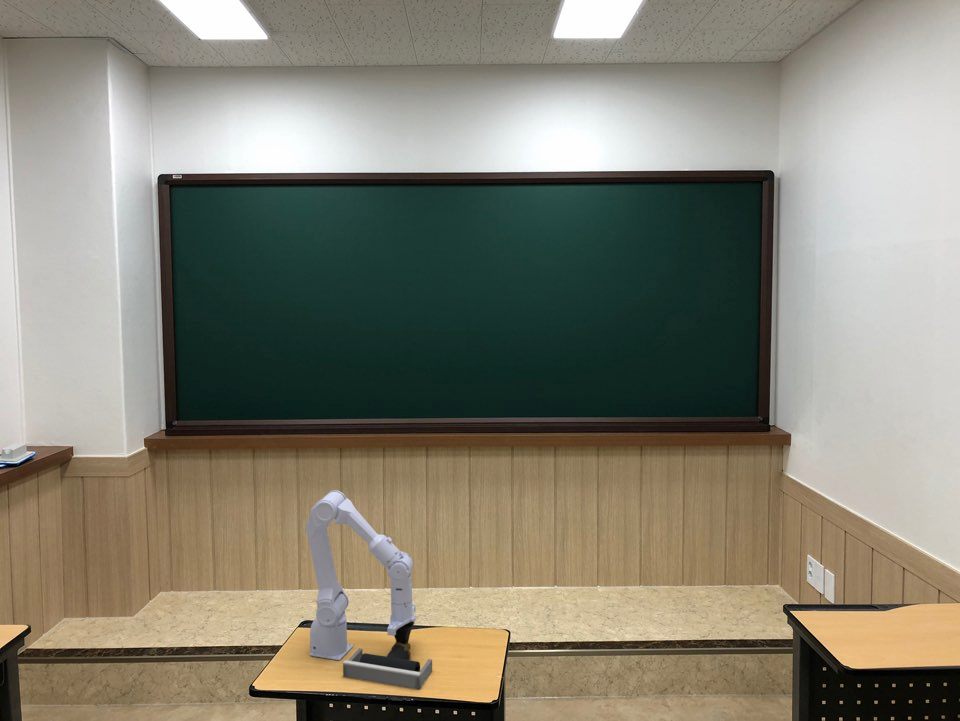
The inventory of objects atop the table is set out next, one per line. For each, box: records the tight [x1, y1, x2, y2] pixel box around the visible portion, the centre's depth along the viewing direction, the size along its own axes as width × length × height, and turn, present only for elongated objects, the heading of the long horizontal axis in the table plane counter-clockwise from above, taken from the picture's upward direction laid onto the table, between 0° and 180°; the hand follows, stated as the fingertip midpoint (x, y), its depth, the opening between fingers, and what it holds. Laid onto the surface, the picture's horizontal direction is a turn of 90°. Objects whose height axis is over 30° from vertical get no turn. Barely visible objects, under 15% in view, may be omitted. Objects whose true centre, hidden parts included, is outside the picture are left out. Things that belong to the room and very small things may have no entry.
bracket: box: [342, 647, 433, 690], centre depth 173 cm, size 21×9×4 cm, turn 73°
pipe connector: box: [359, 641, 421, 672], centre depth 174 cm, size 12×5×15 cm
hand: (402, 648), depth 182 cm, fingers closed
